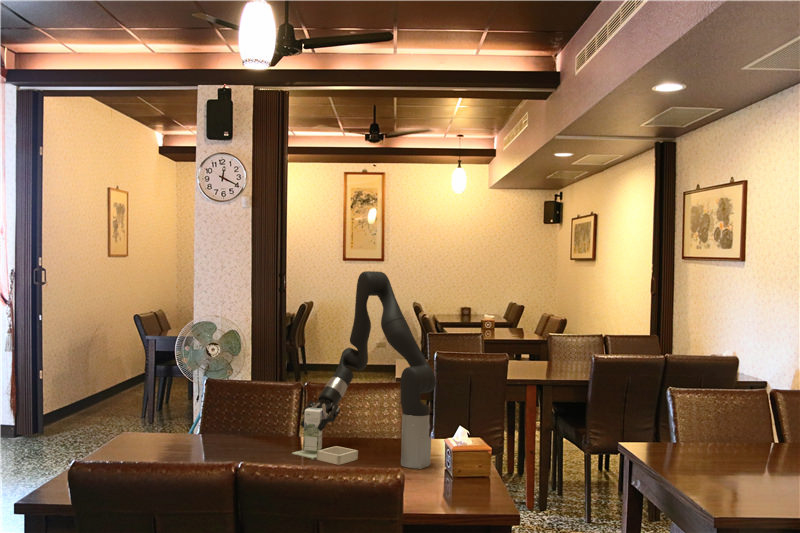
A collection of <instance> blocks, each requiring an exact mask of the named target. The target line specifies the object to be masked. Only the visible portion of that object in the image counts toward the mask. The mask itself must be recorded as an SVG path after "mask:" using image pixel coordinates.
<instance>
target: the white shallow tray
mask: <svg viewBox="0 0 800 533" xmlns="http://www.w3.org/2000/svg"><path fill="white" fill-rule="evenodd" d="M291 455H295V456H299V457H304V458H308V459H310V460H311V461H313V460H317V461H319V462H325V463H329V464H335V465H337V466H340V465H344V464H346V463H351V462H353V461H357V460H358V459H359V450H357V449H352V448H349V447H348V448H347V447H343V446H338V445H335V446H331V447H327V448H323V449H320V450H319V451H317V452H314V451H303V449H301V450H298V451H297V450H296V451H294V452H291Z"/></svg>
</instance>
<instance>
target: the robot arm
mask: <svg viewBox="0 0 800 533" xmlns="http://www.w3.org/2000/svg"><path fill="white" fill-rule="evenodd" d="M370 296H371V297H372V296H373V297H378V299H379V301H380V303H381V305H382V314H381V321H380V327H381V330H382V333H383V334H384V337H385V339H386V341H387V343H388V344H389V345H390V346H391V348H393V349H394V350H395V351H396V352H397V353H398V354H400V356H402V358H404V360H406V362H407V364H408V365H409V366H408V367H405V368H404V369H403V370H402V372H401V376H400V381H399V382H400V404H401V409H402V417H401V418H402V420H401V421H402V422H401V445H400V446H401V448H400V449H401V450H400V465H401V467H405V468H409V469H420V470H422V469H424V468H427V467H428V468H429V467H430V466H431V459H432V458H431V456H432V437H431V436H430V411H431V410H430V406H429V404H426V403H424V402H422V400H421V394H425V393H426V394H427V393H431V392H432V391H433V390H434V389H435V387H436V381H437V380H436V375H435V372H434V369H433V368H432V367H431V365H430V363H429V361H427V360H428V359H426V357H425V356H424V355H425V354H423V352H422V351H421V348H420V346H419V345H418V343H417V341H416V338H415V337H414V335H413V333H412V330H411V328H410V326H409V324H408V322H407V320H406V318H405V316H404V314H403V312H402V310H401V307H400V304H399V303H398V301H397V298H396V295H395V292H394V290H393V287H392V284H391V282H390V280H389V277H388V276H387V274H386V273H385V272H382V271H375V270H374V271H371V270H370V271H369V270H367V271H366V270H365V271H362V272H361V273H360V274H359V276H358V278H357V282H356V291H355V303H354V305H355V306H354V317H353V319H354V320H353V325H352V328H351V333H350V337H349V343H350V344H351V345H352V346H353V347H355V348H356V349H355V348H352V347H346V348H345V349H344V350H343V351H342V352H341V355H340V359H339V363H338V365H337V368H336V370H335V371H334V373H333V375H332V377H331V378H330V379H329V380H328V382H327V383H326V384H325V386H324V388H323V389H322V391H321V392H320V394H319V395H318V400H317V401H316V402H314V401H313V400H310V401H308V403H307V404H306V406H305V407H304V408H303V410H302V411H301V414H302V415H303V416H304V413H305V410H306V409H307V408H323V412H322V413H323V419H322V421H321V422H320V424H319V425H318V427H317V428H318V430H319V431H322V432H323V430H324V429H325V428H326V426H327V424H329V423H330V422H331V423H334V422H335V420H336V418H337V417H338V415H339V414H340V412H341V408H340V407H339V403H340V401H341V399H342V397H343V396H344V395H345V394H346V391H347V389H348V387H349V385H350V384H351V382H352V381H353V379H354V373H353V371H352V370H351V369H349V368H352V369H354V370H356V371H361V372H362V371H363V370H364V369H365V368H366V367H367V365H368V362H369V351H368V350H369V349H368V348H369V347H368V345H369V343H368V342H369V338H370V334H371V328H372V325H371V324H372V323H371V322H372V321H371V319H370V318H371V317H370V315H369V312H368V301H369V298H370ZM300 426H301V428H303V429H304V417H303V418H302V420H301V422H300Z"/></svg>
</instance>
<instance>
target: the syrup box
mask: <svg viewBox="0 0 800 533" xmlns="http://www.w3.org/2000/svg"><path fill="white" fill-rule="evenodd" d="M322 412H323V408H307V409H306V410H305V413H304V415H303V418H304V428H303V439H302V450H303V451H314V452H317V451H319V450H322V448H323V430H322V431H319V430H318V428H317V427H318V425H319V424H320V422H321V421H322V419H324V417H323V413H322Z"/></svg>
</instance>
